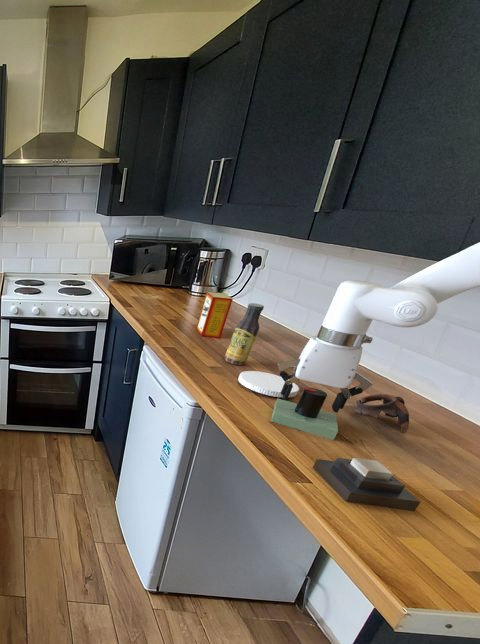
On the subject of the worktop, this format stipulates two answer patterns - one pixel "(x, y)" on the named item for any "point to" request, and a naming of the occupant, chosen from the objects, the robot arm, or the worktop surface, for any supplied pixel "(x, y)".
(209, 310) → the baking soda box
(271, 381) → the plastic lid
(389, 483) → the tiered square pedestal
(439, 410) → the worktop surface
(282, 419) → the volume panel
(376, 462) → the key
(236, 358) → the sauce bottle
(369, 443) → the worktop surface
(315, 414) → the dial
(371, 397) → the brown looped piece
